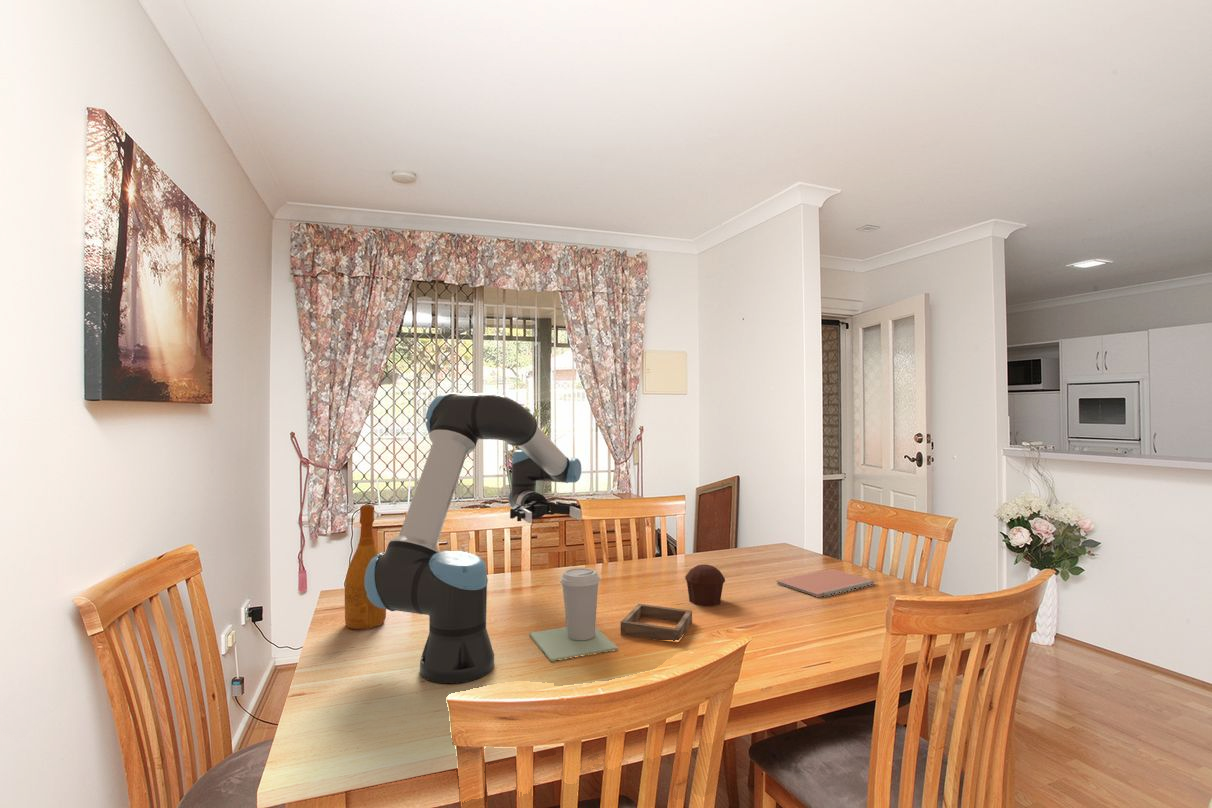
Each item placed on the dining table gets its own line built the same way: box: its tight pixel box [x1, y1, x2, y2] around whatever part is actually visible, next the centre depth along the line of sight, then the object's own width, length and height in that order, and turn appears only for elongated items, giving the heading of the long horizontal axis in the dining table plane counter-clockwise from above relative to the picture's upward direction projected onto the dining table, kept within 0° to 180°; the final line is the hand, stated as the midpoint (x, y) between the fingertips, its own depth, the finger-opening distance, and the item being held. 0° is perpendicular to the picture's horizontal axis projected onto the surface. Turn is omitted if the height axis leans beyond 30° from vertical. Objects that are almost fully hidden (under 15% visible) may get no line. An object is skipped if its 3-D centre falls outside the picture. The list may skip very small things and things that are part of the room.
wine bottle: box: [344, 504, 387, 630], centre depth 146 cm, size 10×10×30 cm
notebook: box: [775, 568, 875, 598], centre depth 182 cm, size 27×17×2 cm, turn 121°
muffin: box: [684, 564, 726, 607], centre depth 165 cm, size 12×11×10 cm
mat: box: [529, 626, 619, 662], centre depth 135 cm, size 16×16×1 cm
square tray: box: [619, 603, 693, 641], centre depth 145 cm, size 14×14×3 cm
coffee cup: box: [559, 567, 601, 641], centre depth 138 cm, size 10×10×15 cm
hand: (555, 516), depth 153 cm, fingers open, 13 cm apart
